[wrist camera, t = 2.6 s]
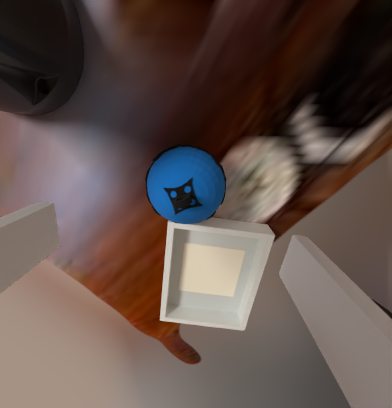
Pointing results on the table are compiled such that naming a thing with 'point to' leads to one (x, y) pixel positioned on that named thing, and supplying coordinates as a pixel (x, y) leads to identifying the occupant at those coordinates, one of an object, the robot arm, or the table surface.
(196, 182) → the ornament
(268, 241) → the bin
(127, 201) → the table surface
